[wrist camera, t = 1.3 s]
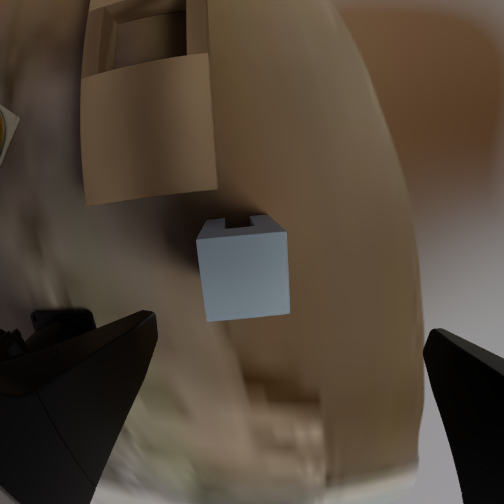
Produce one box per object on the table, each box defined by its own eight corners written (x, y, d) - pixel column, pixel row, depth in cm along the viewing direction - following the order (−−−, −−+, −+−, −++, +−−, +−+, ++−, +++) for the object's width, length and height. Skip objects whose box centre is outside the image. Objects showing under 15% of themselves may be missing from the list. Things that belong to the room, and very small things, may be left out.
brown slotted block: (104, 202, 19) (86, 206, 16) (111, -24, 14) (100, -42, 11) (219, 187, 19) (217, 189, 16) (206, -43, 14) (204, -65, 11)
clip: (213, 278, 20) (207, 321, 14) (206, 219, 19) (196, 239, 13) (271, 272, 21) (289, 313, 14) (267, 214, 20) (286, 231, 13)
